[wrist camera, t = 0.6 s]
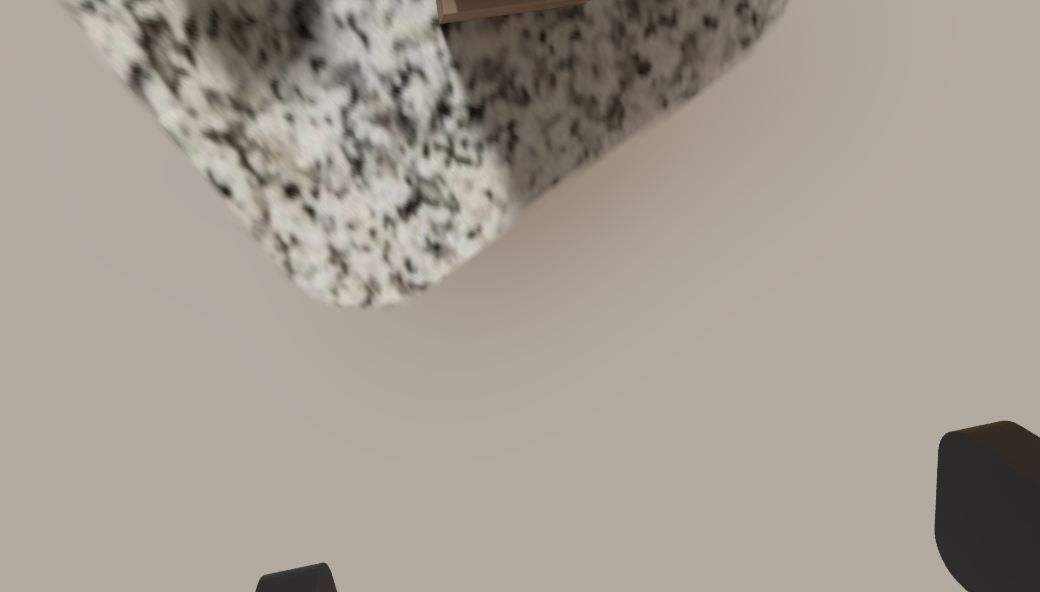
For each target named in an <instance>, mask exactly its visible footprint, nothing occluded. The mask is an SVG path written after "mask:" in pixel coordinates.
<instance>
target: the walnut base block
mask: <svg viewBox="0 0 1040 592" xmlns="http://www.w3.org/2000/svg"><path fill="white" fill-rule="evenodd" d="M587 1H589V0H436V4H437V10H438V16H439V22H440V24H445V23H452V22H459V21H466V20H474V19H481V18H488V17H495V16H502V15H509V14H517V13H524V12H531V11H538V10H545V9H553V8H560V7H567V6H574V5H580V4H583V3H585V2H587Z"/></svg>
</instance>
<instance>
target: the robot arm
mask: <svg viewBox="0 0 1040 592" xmlns="http://www.w3.org/2000/svg"><path fill="white" fill-rule="evenodd" d="M935 539H936V543H937V547H938V550H939V553H940V555H941V557H942V560H943V561H944V563H945V565H946V567H947V569H948V570H949V572H950V573H951V574H952V576H953V577H954V578H955V579H956V580H957V581H958V582H959V583H960V584H961V585H962V586H963V587H964V588H965V589H966V590H967V591H968V592H1040V437H1038V436H1036V435H1035V434H1033V433H1031V432H1030V431H1028V430H1027V429H1025V428H1023V427H1022V426H1020V425H1018V424H1016V423H1014V422H1011V421H999V422H994V423H990V424H985V425H980V426H976V427H971V428H966V429H962V430H957V431H952V432H948V433H947V434H945V435H944V436H943V437H942V439H941V441H940V444H939V450H938V469H937V490H936V510H935ZM256 592H337V590H336V587H335V583H334V580H333V577H332V573H331V571H330V569H329V567H328V565H327V564H326V563H319V564H315V565H310V566H305V567H300V568H295V569H291V570H286V571H281V572H277V573H272V574H267V575H264V576H262V577H261V579H260V580H259V583H258V585H257V588H256Z"/></svg>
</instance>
